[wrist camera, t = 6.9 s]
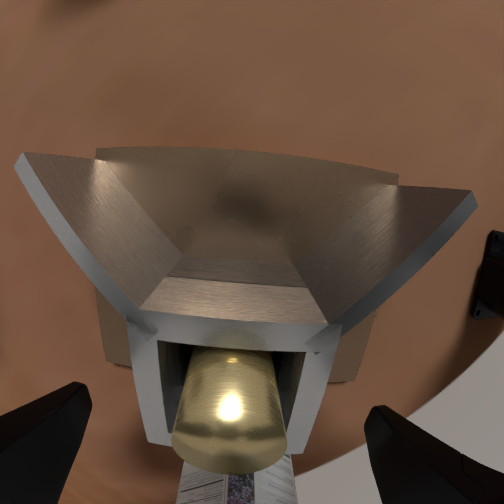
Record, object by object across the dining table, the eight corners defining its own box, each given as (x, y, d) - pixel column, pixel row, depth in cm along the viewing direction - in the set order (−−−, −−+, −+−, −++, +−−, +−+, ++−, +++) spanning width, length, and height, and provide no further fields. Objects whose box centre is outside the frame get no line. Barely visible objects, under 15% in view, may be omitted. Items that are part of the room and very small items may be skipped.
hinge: (389, 174, 13) (483, 174, 6) (349, 371, 16) (390, 452, 9) (105, 150, 13) (14, 134, 6) (112, 353, 15) (61, 427, 8)
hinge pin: (258, 345, 14) (272, 477, 6) (200, 337, 14) (171, 466, 6) (269, 293, 13) (301, 417, 6) (207, 283, 13) (171, 403, 5)
